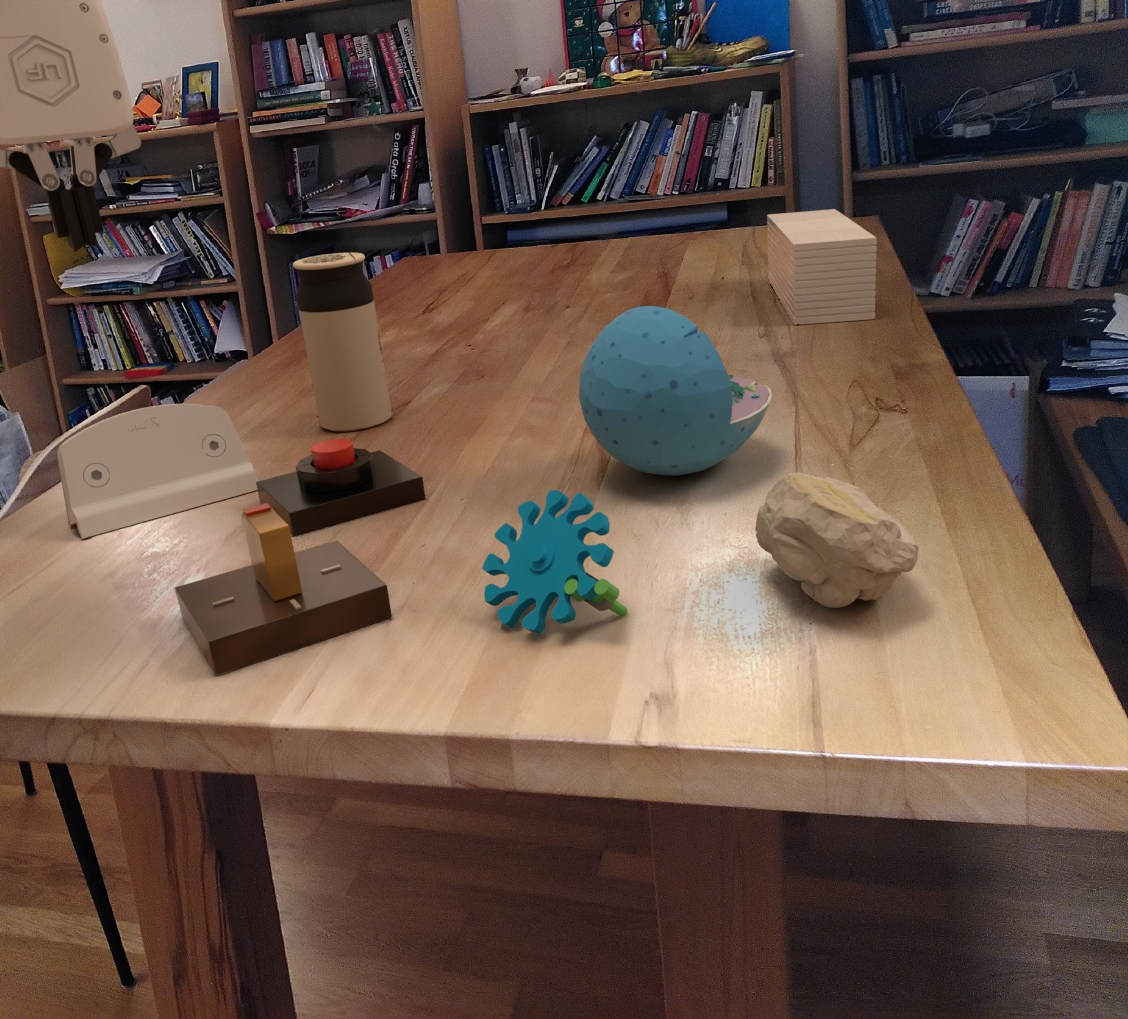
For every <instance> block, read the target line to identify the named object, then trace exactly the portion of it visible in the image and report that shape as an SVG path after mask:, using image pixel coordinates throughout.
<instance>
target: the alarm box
mask: <svg viewBox="0 0 1128 1019" xmlns="http://www.w3.org/2000/svg"><path fill="white" fill-rule="evenodd" d="M353 448H354V454H355V460H356V461H354V462H353V463H351V464H349V465H345V466H341V467H337V468H327V469H321V468H314V463H313V457H312V454H310V455H307V456H306V457H304V458H302V459H300V460H299V461H298V463H297V464H296V466H295V471H293V472H288V473H285V474H281V475H277V476H274V477H273V476H272V477H270V478H265V479H261V480H259V481H257V482H256V485H257V490H256V491H257V494H258V499H259V505H261V504H265V503H268V504H269V505H270V507H271V508H272V509H273V510H274V511H275V512H276V513H277V514H278V515H279V516H280V517H281V518H282V519H283V520H284V521H285V522H286V523H287V524H288V525H289V528H290V533H291V537H294V538H295V537H298V536H302V535H306V534H309V533H312V532H317V531H320V530H322V529H326V528H330V527H334V526H338V525H341V524H344V523H348V522H351V521H354V520H358V519H362V518H365V517H369V516H372V515H376V514H380V513H383V512H386V511H390V510H393V509H397V508H400V507H401V508H402V507H405V506H407V505H410V504H414V503H418V502H422V501H426V500H427V499H426V498H427V497H426V493H425V485H424V480H423V476H422V475H420V474H419V473H417V472H415V471H414V470H412V469H411V468H409V467H407V466H406V465H405V464H403V463H401V462H399V461H398V460H397V459H395V458H393V457H392V456H390V455H389V454H387V453H385V452H384V451H382V450H379V449H378V450H375V451H371V452H370V451H369V450H367V449H365V448H357V447H353Z"/></svg>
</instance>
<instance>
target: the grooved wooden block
mask: <svg viewBox="0 0 1128 1019" xmlns="http://www.w3.org/2000/svg"><path fill="white" fill-rule="evenodd" d="M766 220H767V222H766V224H767V225H766V226H767V228H766V230H767V234H766V236H767V280H768V279H769V281H770V283H771V285H772V286H773V289H774V290H775V292H776V294H777V296H778V297H777V296H776V297H777V299H778V298H779V299H780V301H779V302H780V304H781V303H782V304H781V305H783V306H782V308H783V309H784V308H785V309H784V311H785V310H786V311H785V312H786V314H787V316H788V315H789V316H788V317H789V319H790V321H791V320H792V321H791V322H792V324H793V325H794V326H797V324H799V325H811V324H813V325H814V324H825V323H837V322H838V323H839V322H855V321H868V320H876V305H875V304H876V293H877V291H876V287H877V283H876V282H877V276H876V275H877V268H876V267H877V261H876V260H877V251H878V250H877V249H878V248H877V247H878V246H877V244H878V237H877V236H876V235H873V234H872V233H871V232H869V231H868V230H866V229H865V228H863V227H862V226H861V225H859V224H857V223H856V222H855V221H853V220H852V219H850V218H849V217H848V216H846V215H844V214H843V213H842V212H840V211H838V210H837V209H836V208H832V209H831V208H830V209H819V210H809V211H808V210H807V211H797V212H796V211H795V212H784V213H771V214H767V215H766ZM773 289H772V290H773ZM776 294H775V295H776ZM779 299H778V300H779Z"/></svg>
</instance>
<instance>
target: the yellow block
mask: <svg viewBox="0 0 1128 1019" xmlns="http://www.w3.org/2000/svg"><path fill="white" fill-rule="evenodd" d="M240 515H241V519H242V525H243V529H244V533H245V538H246V542H247V545H248V546H247V547H248V551H249V554H250V555H249V556H250V560H251V565H253V570H254V574H255V578H256V579H257V580H258V581H259V583H260V584H261V585H262V587H263V588H264V589H265V590H266V592H267V593H268V594H269V595H270V597H271V598H272V599H273V601H277V600H280V599H284V598H287V597H290V596H294V595H297V594H300V593H302V587H301V582H300V577H299V572H298V567H297V562H296V558H295V548H294V543H293V539H292V535H291V533H290V528H289V525H288V524H287V523H286V522H285V521H284V520H283V519H282V518H281V517H280V516H279V515H278V514H277V513H276V512H275V511H274V510H273V509H272V508H271V507H270V505H269V504H268V503H265V504H258V505H255V506H254V505H253V506H250V507H246V508H242V512H241V513H240Z"/></svg>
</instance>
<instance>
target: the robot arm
mask: <svg viewBox="0 0 1128 1019" xmlns="http://www.w3.org/2000/svg"><path fill="white" fill-rule="evenodd" d="M113 35H114V34H113V33H112V29H111V26H110V23H109V20H108V17H107V15H106V12H105V9H104V6H103V3H102V1H101V0H0V146H11V145H20V146H21V149H22V151H23V152H22V151H19V150H12V149H3V148H0V169H8V170H15V171H16V172H17V173H19V174H21V175H22V176H24V178H27V179H28V180H30V182H33V183H34V184H35V185H37V186H38V187H40V188H41V189H43V190H44V195H45V197H46V201H47V205H48V208H49V212H50V218H51V220H52V224H53V227H54V231H55V234H56V237H57V238H58V239H62V238H66V241H67V244H68V246H69V247H70V248H71V249H72V250H79V249H83V247H85V246H88V247H90V248H94V247H99V242H98V238H97V234H99V233H104V232H105V231H104V224H103V221H102V217H101V213H100V209H99V204H98V201H97V200H98V199H97V197H96V192H95V188H94V185H95V184H96V183H97V180H98V178H99V176H100V175H101V174H102V172H103V171H104V169H105V168H106V166H107V165H108V164H109V162H110V160H112V159H114V158H117V157H120V156H122V155H125V154H128V153H131V152H134V151H136V150H138V149H140V148H141V146H142V140H141V138H140V136H139V133H138V131H137V129H136V128H135V125H134V118H135V117H134V116H135V115H134V108H133V104H132V99H131V95H130V91H129V88H128V85H127V81H126V77H125V73H124V69H123V66H122V62H121V59H120V55H119V52H118V48H117V46H116V45H117V44H116V42H115V39H114V36H113ZM111 135H112V136H111ZM105 136H111V137H109V138H107V139H105V140H102V141H98V142H96V143H94V138H95V137H105ZM67 140H68V142H69V143H68V145H69V154H70V166H71V176H70V177H69V182H70V187H69V188H66V184H65V180H64V179H63V178H61V177H60V176H59V175H58V172H57V170H56V168H55V165H54V163H53V160H52V159H51V156H50V153H49V151H48V149H47V148H48V147H47V145H46V144H45V142H55V141H67Z"/></svg>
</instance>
